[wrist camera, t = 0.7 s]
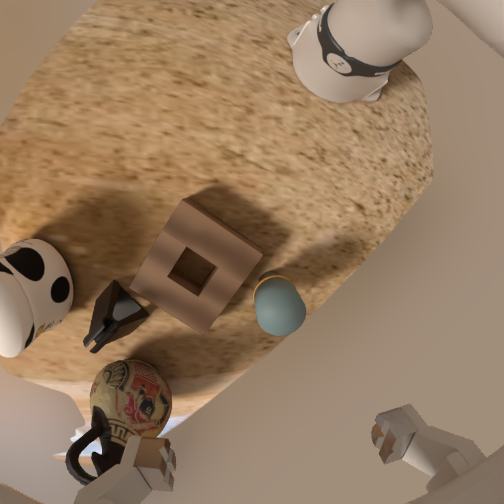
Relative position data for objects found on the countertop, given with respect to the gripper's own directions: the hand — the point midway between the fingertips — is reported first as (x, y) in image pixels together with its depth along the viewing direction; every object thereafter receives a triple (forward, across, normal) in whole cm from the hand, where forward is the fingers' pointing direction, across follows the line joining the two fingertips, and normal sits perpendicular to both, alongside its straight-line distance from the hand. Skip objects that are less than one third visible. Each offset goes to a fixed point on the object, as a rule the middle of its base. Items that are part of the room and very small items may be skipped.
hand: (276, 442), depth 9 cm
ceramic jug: (+39, +23, +25) cm, 51 cm away
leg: (+38, -4, +7) cm, 39 cm away
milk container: (+38, +39, +4) cm, 55 cm away
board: (+38, +7, +3) cm, 39 cm away
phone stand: (+38, +22, +10) cm, 46 cm away
